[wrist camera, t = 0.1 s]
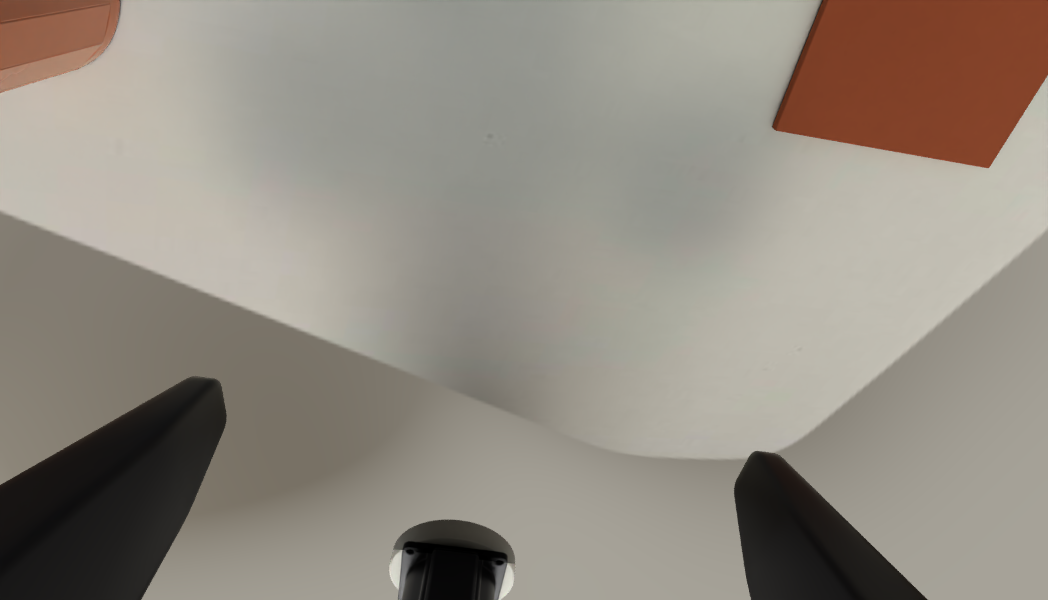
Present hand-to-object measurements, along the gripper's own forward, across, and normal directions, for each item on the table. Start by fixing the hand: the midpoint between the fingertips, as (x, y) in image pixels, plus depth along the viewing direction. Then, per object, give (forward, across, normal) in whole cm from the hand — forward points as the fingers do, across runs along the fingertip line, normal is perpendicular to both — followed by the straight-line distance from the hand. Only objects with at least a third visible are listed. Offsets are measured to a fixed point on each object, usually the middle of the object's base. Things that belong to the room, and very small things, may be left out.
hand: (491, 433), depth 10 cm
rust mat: (+14, -13, -6) cm, 20 cm away
